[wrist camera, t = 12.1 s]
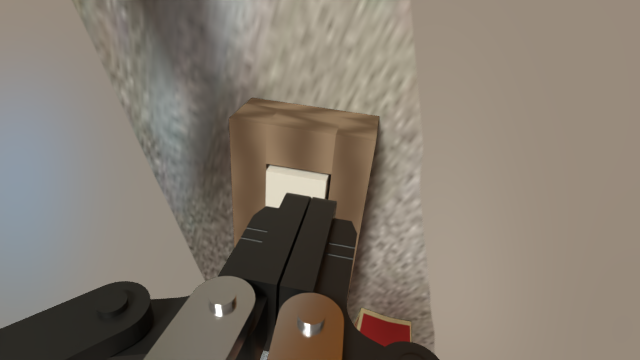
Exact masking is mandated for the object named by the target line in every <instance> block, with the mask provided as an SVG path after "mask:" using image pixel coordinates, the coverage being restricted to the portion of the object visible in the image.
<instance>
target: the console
mask: <svg viewBox="0 0 640 360" xmlns="http://www.w3.org/2000/svg"><path fill="white" fill-rule="evenodd" d="M378 122H379V116H373V115H367V114H360V113H353V112H346V111H339V110H332V109H326V108H319V107H312V106H305V105H298V104H291V103H285V102H278V101H271V100H264V99H257V98H251V99H250V100H249V101H248V102H247V103H246V104H244V105H243V106H242V107H241V108H240V109H239V110H238V111H237V112H236V113H234V114H233V115H232V116H231V117H230V118H229V132H230V156H231V180H232V203H233V227H234V248H235V246H236V244H237V243H238V241H239V239H241V236H242V234H243V232H244V231H245V229H246V228H247V225H248V224H249V222H250V220H251V219H252V217H253V215H254V214H256V213H257V212H258V211H260V210H261V209H263V208H264V207H266V170H267V169H268V167H269V166H270V164H271V165H277V166H283V167H289V168H295V169H301V170H307V171H313V172H320V173H326V174H331V180H330V189H329V197H328V200H334V201H337V209H336V216H335V218H337V219H343V220H348V221H352V223H353V225H354V227H355V230H356V232H357V239H356V246H355V252H354V259H353V265H352V272H353V267H354V261H355V256H356V250H357V245H358V239H359V233H360V228H361V222H362V217H363V211H364V206H365V200H366V194H367V189H368V183H369V178H370V172H371V167H372V161H373V156H374V150H375V144H376V138H377V130H378ZM352 272H351V278H352ZM350 284H351V279H350ZM349 289H350V285H349ZM348 295H349V292H348ZM347 300H348V298H347Z"/></svg>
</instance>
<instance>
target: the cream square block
mask: <svg viewBox="0 0 640 360" xmlns="http://www.w3.org/2000/svg"><path fill="white" fill-rule="evenodd" d="M330 180H331V174H326V173H320V172H313V171H307V170H301V169H295V168H289V167H283V166H277V165H271V164H270V166H269V167H268V169H267V170H266V206H269V207H275V208H279V207H280V205H281V202H282V200H283V198H284V196H285V194H286V193H293V194H299V195H304V196H310V197H311V198H312V197H316V198H322V199H328V197H329V189H330Z"/></svg>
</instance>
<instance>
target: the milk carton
mask: <svg viewBox="0 0 640 360" xmlns="http://www.w3.org/2000/svg"><path fill="white" fill-rule="evenodd" d="M354 326H355V327H356V328H357V329H358V330H359V331H360V332H361V333H362V334H364V335H365V336H367V337H368V338H370V339H372V340H373V341H375V342H377V343H379V344H381V345H383V346H387V345H388V344H391V343H393V342H398V341H407V342H412V334H411V322H410V321H405V320H399V319H394V318H389V317H386V316H383V315H380V314H378V313H375V312H372V311H369V310H366V309H364V308H361V310H360V312H359V314H358V316H357V318H356V321H355V323H354Z"/></svg>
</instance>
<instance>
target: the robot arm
mask: <svg viewBox="0 0 640 360" xmlns="http://www.w3.org/2000/svg"><path fill="white" fill-rule="evenodd" d="M336 209H337V201H334V200H328V199H322V198H316V197H312V198H311V197H310V196H304V195H299V194H293V193H286V194H285V196H284V198H283V200H282V202H281V205H280V207H279V208H275V207H269V206H266V207H264V208H263V209H261V210H260V211H258V212H257V213H256V214H254V215H253V217H252V219H251V220H250V222H249V224H248V225H247V228H246V229H245V231H244V232H243V234H242V236H241V239H239V241H238V243H237V244H236V246H235V248H234V250H233V251H232V253H231V255H230V257H229V258H228V260H227V262H226V263H225V265H224V267H223V269H222V270H221V272H220V274H219V275H218V277H215V278H212V279H209V280H207V281H205V282H204V283H202V284H201V285H199V286H198V287H197V288H196V289H195V290H194V291H193V293H192V294H191V295H190V296H186V297H180V298H167V299H152V300H151V299H150V295H149V293H148V291H147V289H146V288H145V287H143V286H142V285H140V284H138V283H134V282H128V281H125V282H115V283H111V284H108V285H105V286H102V287H100V288H97V289H95V290H92V291H90V292H88V293H85V294H83V295H81V296H78V297H76V298H73V299H71V300H69V301H66V302H64V303H61V304H59V305H57V306H54V307H52V308H49V309H47V310H45V311H42V312H40V313H37V314H35V315H33V316H30V317H28V318H25V319H23V320H21V321H18V322H16V323H13V324H11V325H9V326H6V327H4V328H1V329H0V360H260V358H261V355H262V352H263V350H264V351H269V354H268V358H267V360H439V359H438V358H437V356H436V355H435V354H433V353H432V352H431V351H430V350H428V349H427V348H425V347H423V346H421V345H419V344H416V343H413V342H407V341H398V342H393V343H391V344H388V345H387V346H383V345H381V344H379V343H377V342H375V341H373V340H372V339H370V338H368V337H367V336H365V335H364V334H362V333H361V332H360V331H359V330H358V329H357V328H356V327H355V326H354V325H353V323H352V322H351V320H350V318H349V315H348V312H347V298H348V292H349V285H350V279H351V272H352V265H353V259H354V252H355V246H356V239H357V232H356V230H355V227H354V225H353V223H352V221H348V220H343V219H337V218H335V216H336Z"/></svg>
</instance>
